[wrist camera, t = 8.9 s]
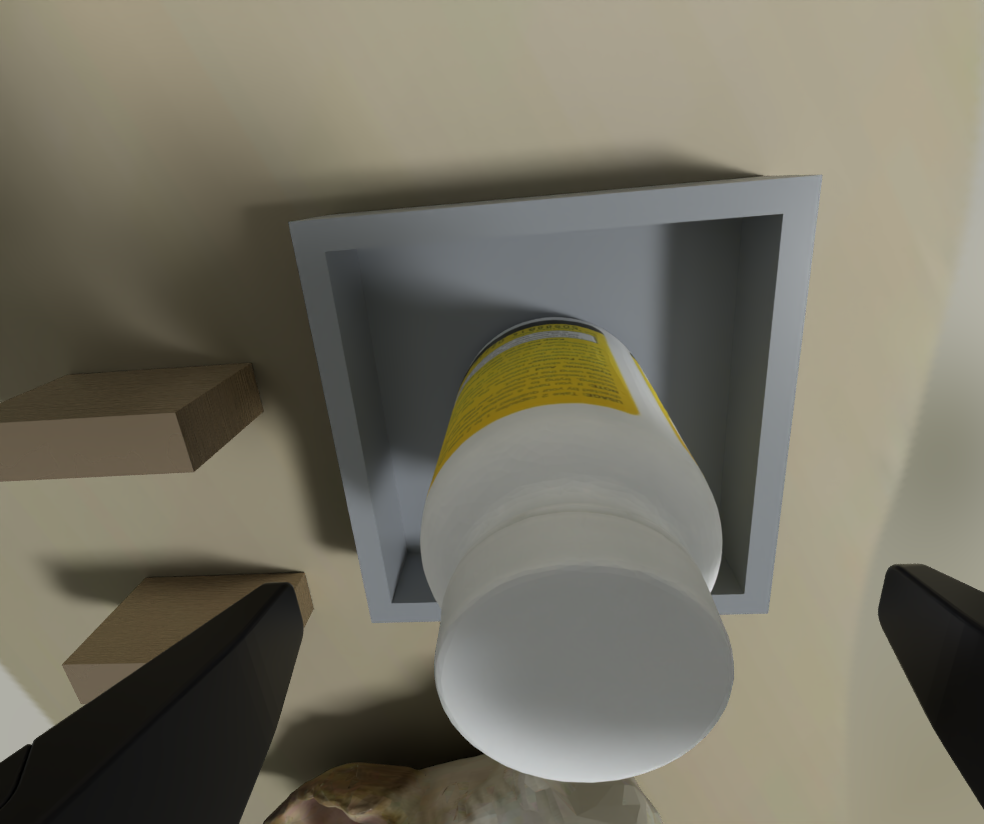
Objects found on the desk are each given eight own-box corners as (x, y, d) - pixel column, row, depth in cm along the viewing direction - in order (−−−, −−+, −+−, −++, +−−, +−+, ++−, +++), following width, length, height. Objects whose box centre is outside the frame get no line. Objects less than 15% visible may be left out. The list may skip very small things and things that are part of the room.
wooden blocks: (313, 608, 21) (267, 701, 17) (158, 612, 21) (80, 703, 18) (250, 362, 17) (175, 412, 13) (67, 374, 18) (-55, 426, 14)
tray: (732, 549, 19) (768, 613, 16) (393, 560, 20) (372, 622, 17) (766, 175, 14) (822, 174, 12) (331, 214, 15) (287, 221, 13)
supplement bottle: (422, 418, 17) (302, 696, 8) (539, 272, 15) (560, 414, 6) (561, 517, 18) (598, 865, 9) (686, 393, 16) (893, 668, 7)
